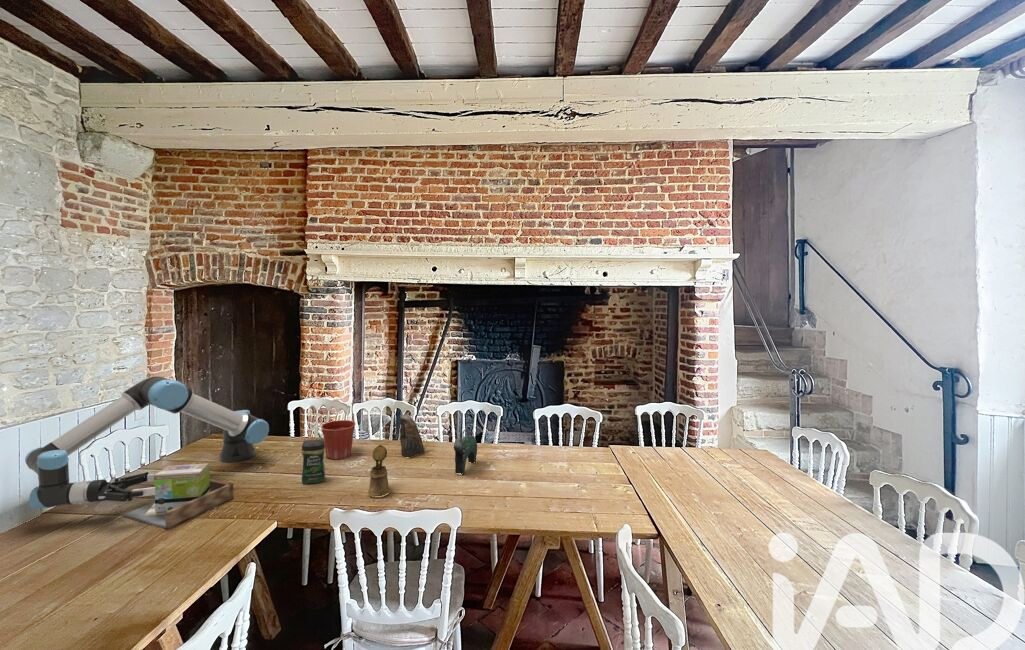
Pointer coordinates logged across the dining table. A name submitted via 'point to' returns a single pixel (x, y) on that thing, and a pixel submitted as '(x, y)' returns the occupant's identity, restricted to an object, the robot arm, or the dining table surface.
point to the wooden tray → (184, 507)
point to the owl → (410, 437)
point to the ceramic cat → (464, 451)
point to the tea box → (180, 485)
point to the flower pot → (338, 438)
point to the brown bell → (379, 474)
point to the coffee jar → (313, 461)
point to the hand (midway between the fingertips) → (161, 483)
